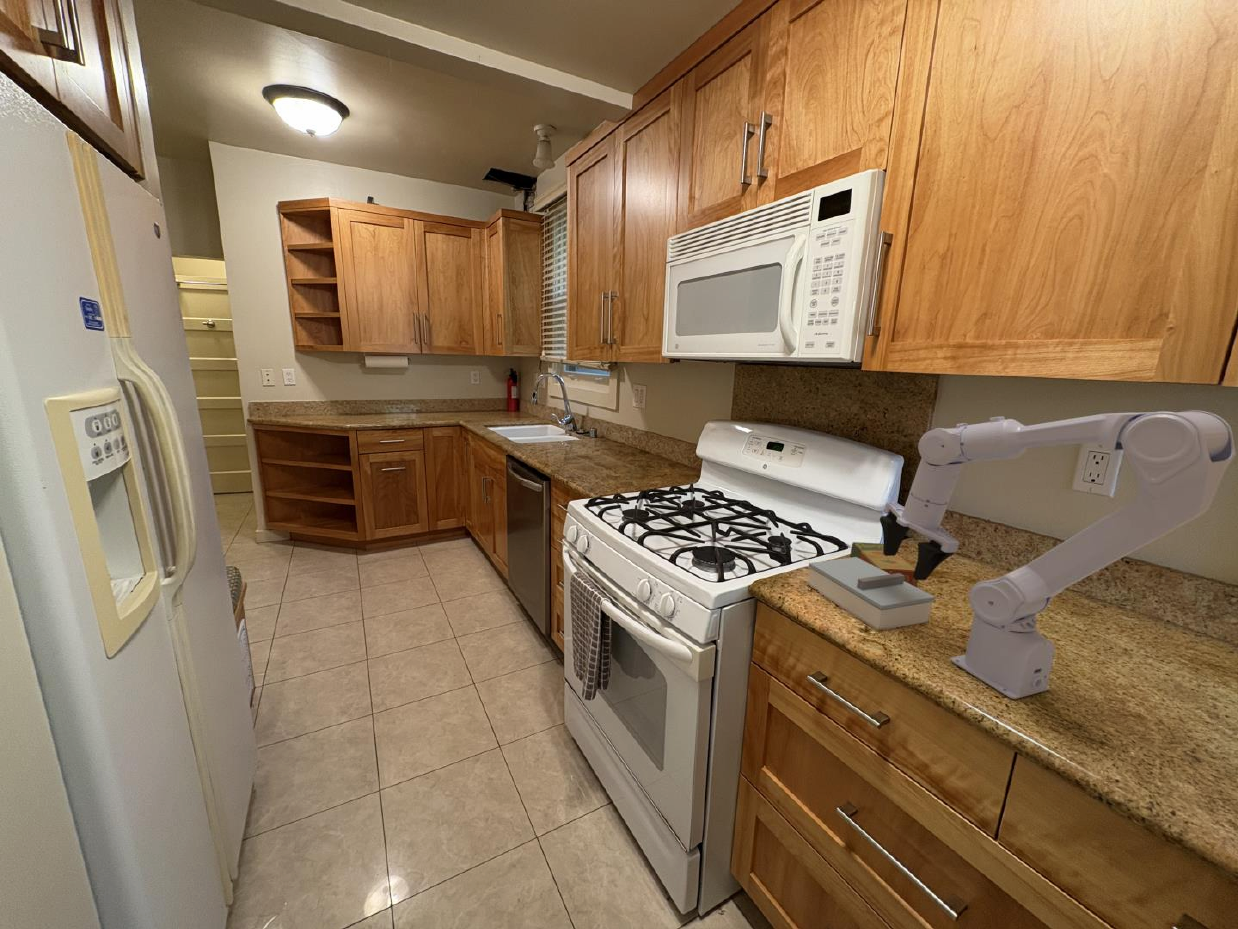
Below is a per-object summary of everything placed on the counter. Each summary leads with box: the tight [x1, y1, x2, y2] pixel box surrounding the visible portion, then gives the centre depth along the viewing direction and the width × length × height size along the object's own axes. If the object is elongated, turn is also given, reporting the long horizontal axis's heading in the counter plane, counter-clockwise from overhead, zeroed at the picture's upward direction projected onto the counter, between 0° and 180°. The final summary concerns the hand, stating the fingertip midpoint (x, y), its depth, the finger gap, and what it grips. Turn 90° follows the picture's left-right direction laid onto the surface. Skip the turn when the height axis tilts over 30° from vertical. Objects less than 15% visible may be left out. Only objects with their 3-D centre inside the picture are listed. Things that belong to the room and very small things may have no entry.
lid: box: [808, 557, 936, 610], centre depth 94 cm, size 18×12×2 cm
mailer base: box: [807, 567, 933, 632], centre depth 94 cm, size 18×12×4 cm, turn 19°
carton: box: [850, 541, 919, 588], centre depth 110 cm, size 8×16×4 cm, turn 174°
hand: (903, 566), depth 86 cm, fingers open, 7 cm apart
